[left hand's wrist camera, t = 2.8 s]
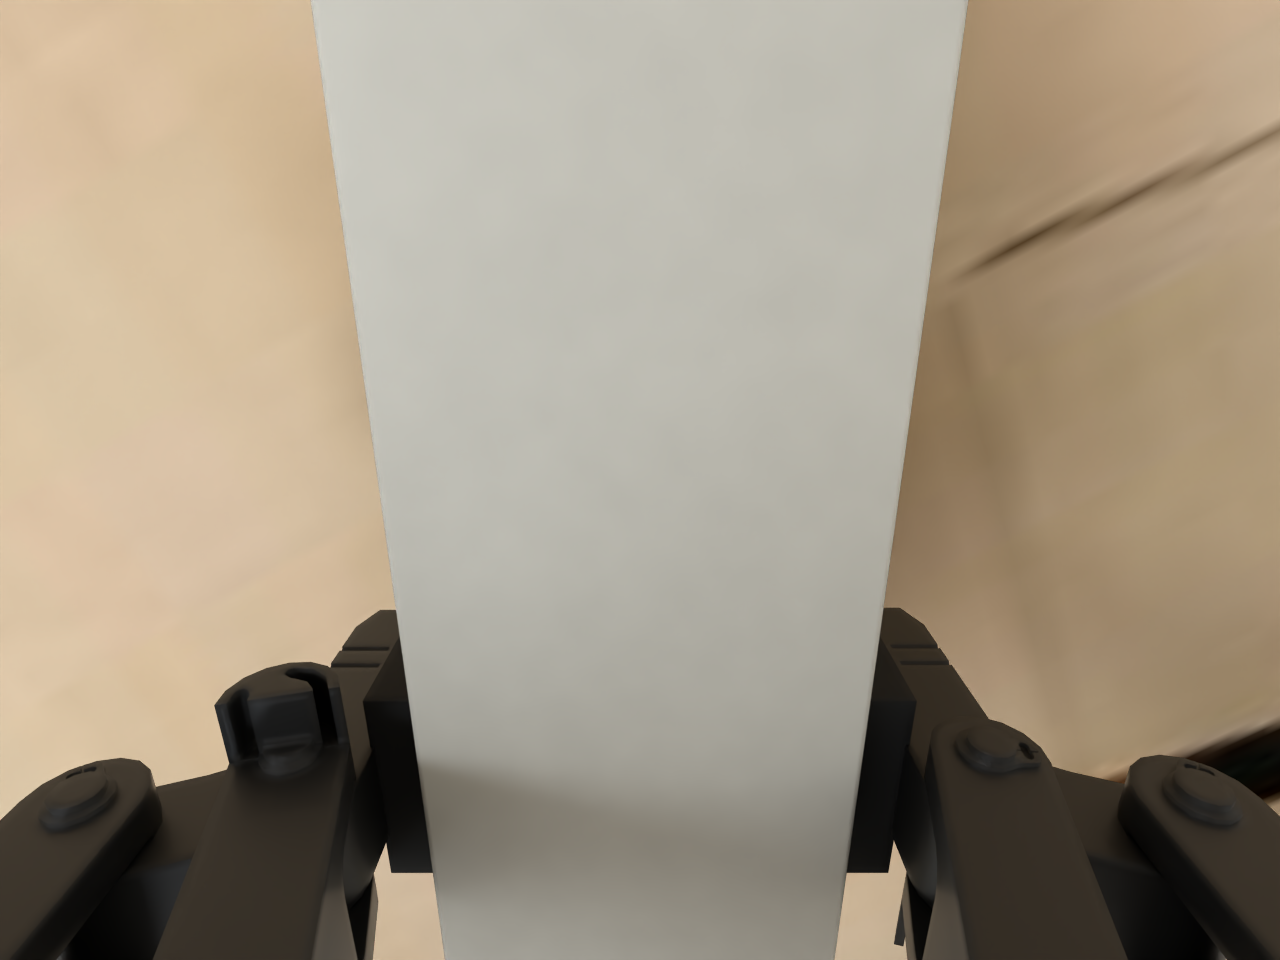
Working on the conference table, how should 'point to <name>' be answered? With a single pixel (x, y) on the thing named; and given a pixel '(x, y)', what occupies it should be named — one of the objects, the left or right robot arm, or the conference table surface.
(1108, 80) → the conference table surface
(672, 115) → the plank
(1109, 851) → the left robot arm
